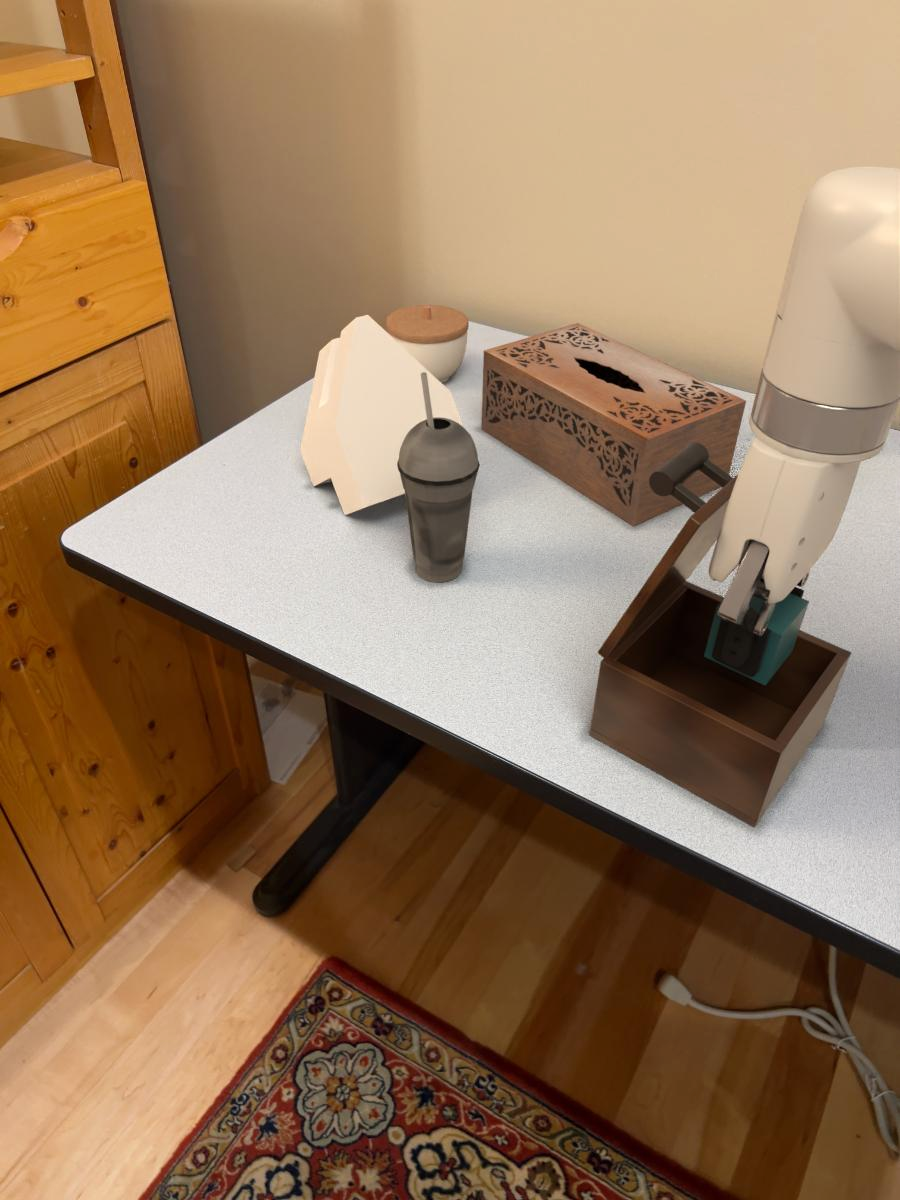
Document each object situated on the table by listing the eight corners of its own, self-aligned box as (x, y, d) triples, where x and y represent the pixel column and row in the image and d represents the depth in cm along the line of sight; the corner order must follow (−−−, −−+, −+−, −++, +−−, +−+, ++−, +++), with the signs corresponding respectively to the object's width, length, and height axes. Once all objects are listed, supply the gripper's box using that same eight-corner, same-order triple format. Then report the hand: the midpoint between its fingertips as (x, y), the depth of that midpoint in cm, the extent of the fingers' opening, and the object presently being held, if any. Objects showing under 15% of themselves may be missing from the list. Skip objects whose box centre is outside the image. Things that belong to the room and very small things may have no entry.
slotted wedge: (431, 485, 103) (378, 336, 101) (477, 467, 93) (419, 302, 91) (326, 522, 97) (268, 364, 95) (364, 507, 87) (299, 331, 85)
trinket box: (371, 377, 118) (367, 308, 112) (424, 352, 125) (423, 286, 119) (431, 400, 113) (431, 329, 107) (483, 374, 119) (485, 305, 113)
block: (732, 624, 65) (746, 574, 62) (792, 651, 63) (809, 601, 60) (703, 656, 62) (716, 606, 59) (765, 686, 60) (781, 635, 57)
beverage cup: (476, 592, 82) (482, 393, 69) (398, 591, 82) (390, 392, 70) (476, 547, 88) (482, 355, 75) (403, 545, 88) (396, 354, 75)
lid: (786, 445, 60) (726, 402, 61) (700, 525, 52) (634, 474, 53) (688, 578, 71) (639, 539, 72) (605, 660, 63) (552, 615, 64)
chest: (823, 725, 69) (852, 652, 64) (754, 828, 62) (781, 753, 57) (668, 651, 76) (683, 579, 71) (588, 735, 68) (600, 661, 63)
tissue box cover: (726, 484, 97) (746, 400, 91) (633, 526, 91) (647, 439, 84) (570, 398, 114) (577, 322, 107) (481, 429, 107) (483, 350, 101)
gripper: (815, 346, 57) (752, 569, 69) (693, 443, 47) (643, 687, 59) (935, 378, 54) (847, 609, 65) (831, 491, 44) (749, 741, 55)
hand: (751, 643), depth 62 cm, fingers closed on block, 4 cm apart
